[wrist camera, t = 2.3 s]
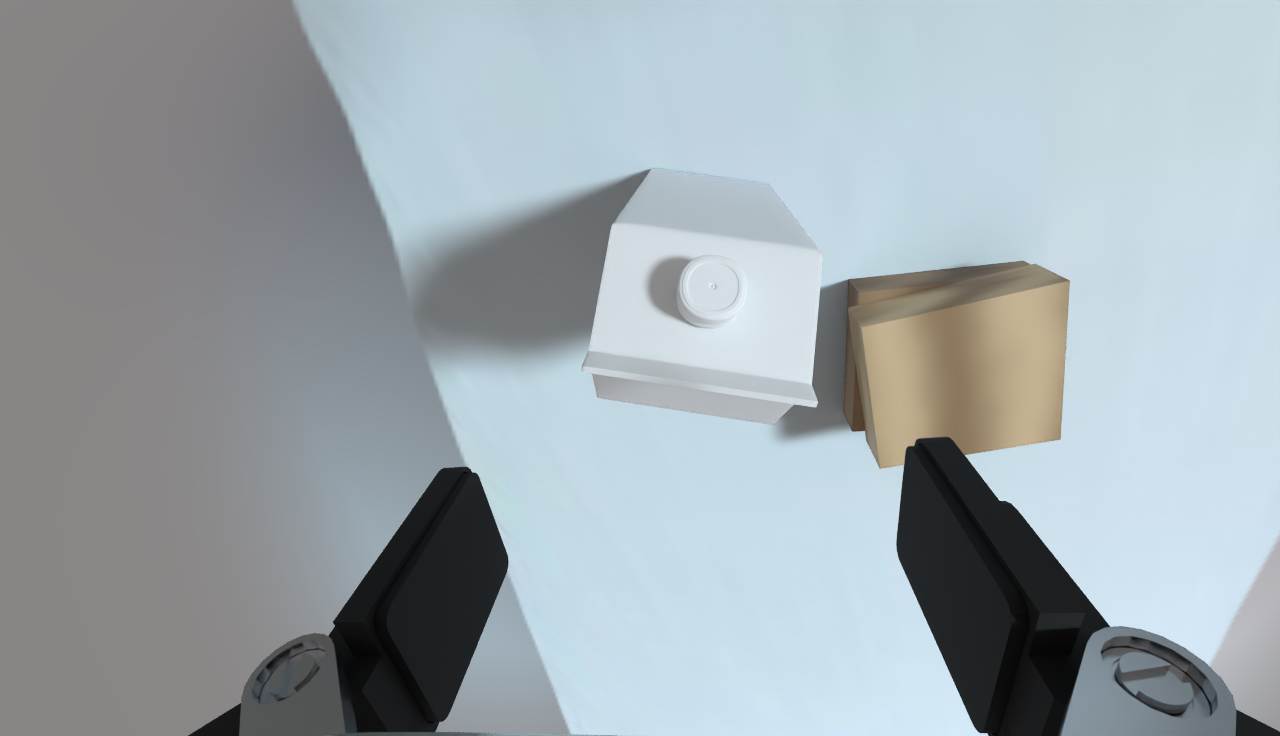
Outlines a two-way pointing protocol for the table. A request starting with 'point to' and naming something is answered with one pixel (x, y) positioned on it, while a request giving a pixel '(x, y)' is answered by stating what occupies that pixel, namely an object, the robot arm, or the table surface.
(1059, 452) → the table surface
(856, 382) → the bottom slab
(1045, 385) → the top slab
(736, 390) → the milk carton
